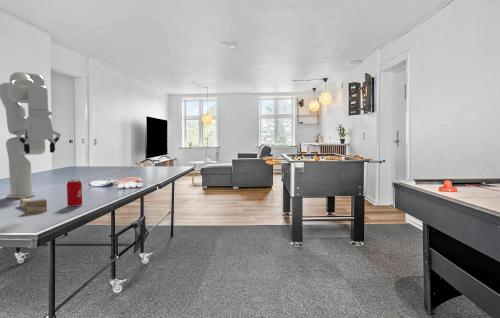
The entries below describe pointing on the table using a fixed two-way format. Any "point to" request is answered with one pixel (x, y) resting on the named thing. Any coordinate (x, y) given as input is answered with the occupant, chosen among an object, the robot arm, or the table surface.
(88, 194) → the table surface
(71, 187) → the beverage can
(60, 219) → the table surface
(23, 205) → the curved plank on base
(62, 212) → the table surface
